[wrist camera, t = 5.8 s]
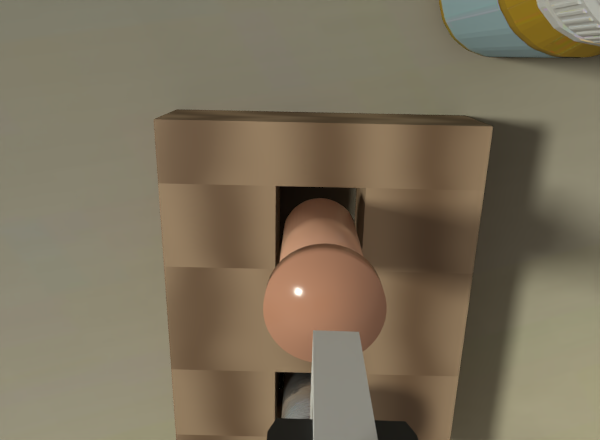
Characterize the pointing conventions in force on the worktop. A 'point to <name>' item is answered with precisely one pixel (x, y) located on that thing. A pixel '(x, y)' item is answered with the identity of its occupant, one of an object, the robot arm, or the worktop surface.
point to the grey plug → (296, 395)
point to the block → (267, 248)
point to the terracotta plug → (322, 281)
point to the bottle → (525, 27)
